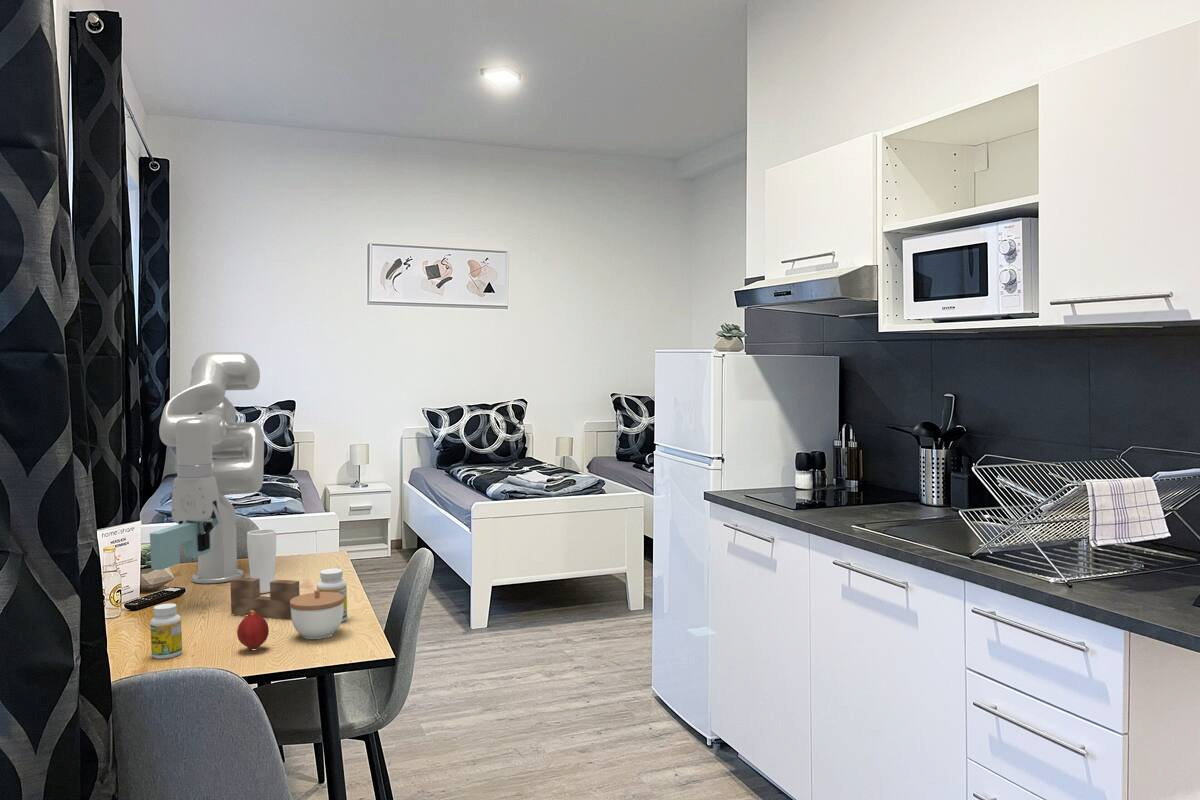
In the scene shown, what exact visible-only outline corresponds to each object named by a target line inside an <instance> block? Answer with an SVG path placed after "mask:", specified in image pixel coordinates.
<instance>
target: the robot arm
mask: <svg viewBox="0 0 1200 800" xmlns="http://www.w3.org/2000/svg"><path fill="white" fill-rule="evenodd" d="M190 371H191V372H190V373H191V377H190V382H189V387H186V388H185V389H183V390H181V391H180V392H178V393H177V394H176V395H173V397H171V398H170V399H169V400H168V401H167V403H166V404H165V405H164V408H163V411H162V414H161V418H160V422H159V429H158V431H159V433H158V434H159V438H160V440H161V442H162V443H163V444H164V445H165V446H167V447H176V448H175V449H176V451H175V452H176V453H175V454H176V465H175V466H174V471H175V472H176V474H177V475H176V476H175V477H174V479H173V482H172V488H171V489H172V492H171V505H170V506H171V508H170V509H171V517H172V518H171V519H172V522H174V523H176V525H178V524H182V523H185V522H188V521H191V522H199V531H200V534H198V550H199V551H204V550H207V549H209V548H210V534H209V532H211V552H209V553H206V554H203V555H201V556H198V557H197V573H194V574H192V575H191V581H192V582H194V583H196V584H218V583H219V584H220V583H225V582H226V583H227V582H230V580H231V579H234V578H237V577H243V578H244V576H245V573H244V570H243V569H240V568H238V554H237V553H238V552H237V549H238V547H237V524H236V523H237V522H236V521H237V518H236V517H237V516H236V510H235V507H234V505H233V504H232V503H231V502H230V501H229V500H228V499H227V497H225V496H228V495H229V496H230V495H245V494H248V495H249V494H255V493H257V492H259V491H260V490H261V489H262V487H263V482H264V465H265V463H264V462H265V461H264V460H265V457H264V456H265V454H264V453H265V438H264V432H263V428H262V427H261V426H260V425H259V424H258V423H256V422H251V421H250V422H249V421H248V422H236V418H237V417H236V414H237V410H236V407H235V406H234V404H233V403H232V402H231V401H230V400H229V399H228V398H227V397H226V396H225V395H226V391H250V390H255V389H256V388H257V387H258V386H259V383H260V378H261V374H260V373H261V372H260V367H259V364H258V362H257V361H256V360H255V359H254V357H253V356H251V354H248V353H247V352H239V351H238V352H228V351H227V352H225V351H224V352H223V351H222V352H221V351H220V352H219V351H218V352H207V353H203V354H201V355H199V356H198V357H197V358H196V360H195V362H194V365H192V367H191V370H190ZM200 413H201V414H200ZM205 523H206V525H205Z"/></svg>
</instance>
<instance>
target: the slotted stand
mask: <svg viewBox="0 0 1200 800" xmlns="http://www.w3.org/2000/svg"><path fill="white" fill-rule="evenodd" d="M229 582H230V584H229V585H230V611H231V612H230V614H234V615H233V616H237V615H249V613H248V612H250V611H251V610H254V611H255V612H256V613H257V614H258V615H260V616H262V617H263V618H265V617H271V618H270V619H278V618H282V619H281V620H292V619H291V607H290V600H291V599H292V598H294V597H297V596H299V595H301V594H300V592H301V591H300V580H291V579H290V580H289V579H274V581H272V582H270V592H269V596H267V595H266V596H264V595H261V594H260V579H259V578H251V577H244V576H243V577H237V578H234V579H231V580H230V581H229Z"/></svg>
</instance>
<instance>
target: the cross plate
mask: <svg viewBox="0 0 1200 800" xmlns="http://www.w3.org/2000/svg"><path fill="white" fill-rule="evenodd" d="M205 525H206V523H205ZM198 534H200V531H199V522H191V521H188V522H185V523H182V524H176V525H173V526H169V527H166V528H163V529H160V530H157V531H156V530H155V531H153V532H150V533H149V542H150V543H149V544H150V545H149V546H150V548H149V549H150V564H151V565H150V566H151V570H156V571H157V570H158V571H161V570H165V569H168V568H170V567H173V566H175V565H178V564H181V559H180V557H181V556H180V555H181V554H180V545H181V544H184V557H185V558H192V559H193V558H194V559H195V558H198V556H201V555H203V554H206V553H209V552H211V532H209V534H210V548H209V549H207V550H204V551H199V550H198Z"/></svg>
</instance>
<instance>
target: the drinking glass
mask: <svg viewBox="0 0 1200 800" xmlns="http://www.w3.org/2000/svg"><path fill="white" fill-rule="evenodd" d="M246 548H247V549H246V550H247V558H248V559H247V560H248V568H249V574H250V577H249V578H259V579H260V593H262V594H269V593H270V582H272V581H274V580H275V575H276V573H275V571H276V569H275V568H276V560H277V559H276V558H277V557H276V555H277V535H276V530H275V529H272V528H267V529H266V528H262V529H253V530H250V531H247V533H246ZM268 592H269V593H268Z"/></svg>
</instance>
